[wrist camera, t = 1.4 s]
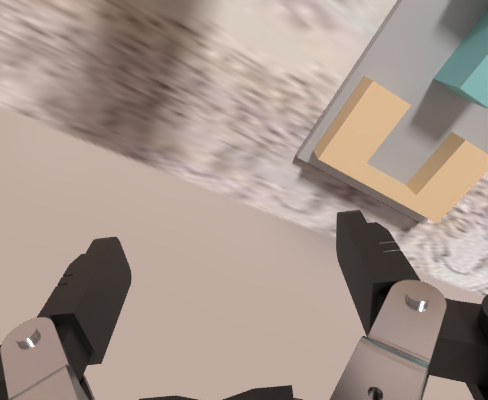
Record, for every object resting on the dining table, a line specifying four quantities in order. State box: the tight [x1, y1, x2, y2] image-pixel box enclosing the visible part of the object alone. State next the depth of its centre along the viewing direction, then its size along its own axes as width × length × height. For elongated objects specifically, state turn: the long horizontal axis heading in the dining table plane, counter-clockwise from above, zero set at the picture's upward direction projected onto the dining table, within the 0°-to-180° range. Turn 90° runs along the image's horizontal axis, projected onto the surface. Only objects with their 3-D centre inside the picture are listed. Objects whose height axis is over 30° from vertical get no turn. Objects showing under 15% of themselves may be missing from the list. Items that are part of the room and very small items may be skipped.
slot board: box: [296, 0, 488, 224], centre depth 33 cm, size 26×18×4 cm
